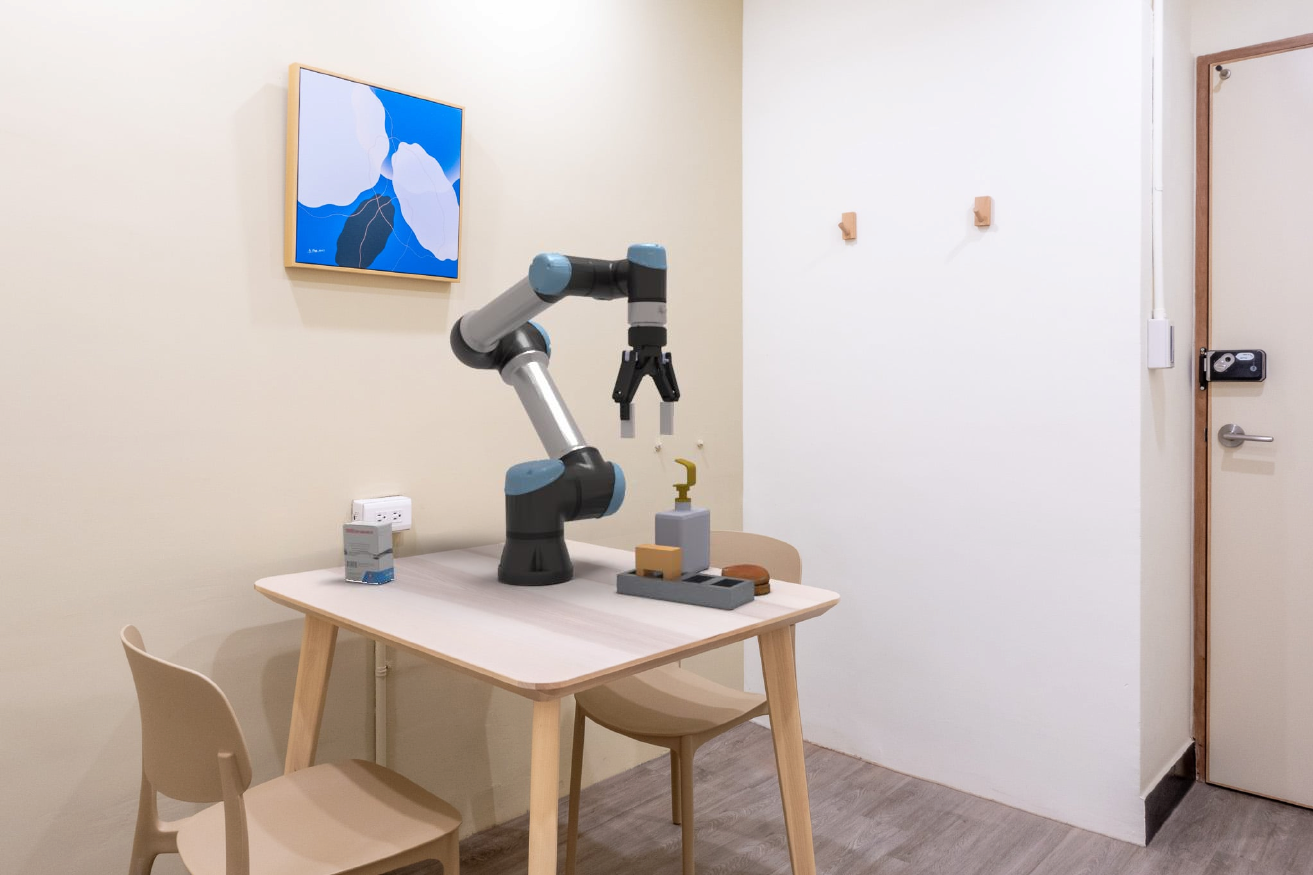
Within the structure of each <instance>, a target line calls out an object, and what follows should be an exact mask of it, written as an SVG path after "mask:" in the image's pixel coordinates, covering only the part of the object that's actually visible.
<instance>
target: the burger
mask: <svg viewBox="0 0 1313 875" xmlns="http://www.w3.org/2000/svg"><path fill="white" fill-rule="evenodd" d="M720 576H726V577H734V578H741V579H749V580H754V596H755V595H758V596H759V595H765V594H768V593H770V592H771V584H770V580H771V577H770V576H771V575H770V573H769V571H768V570H767V569H766V568H765V567H763V566H760V565H756V564H750V563H749V564H747V563H746V564H745V563H744V564H737V565H735V564H734V565H732V566H727V567H723V568H722V569H721V574H720Z"/></svg>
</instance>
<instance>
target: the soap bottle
mask: <svg viewBox="0 0 1313 875" xmlns="http://www.w3.org/2000/svg"><path fill="white" fill-rule="evenodd" d="M674 462H676V463H678V464H680V465H682V466H684V467H685V468H686V480H687V481H686V483H676V484H672V487H675V488H676V492H678V497H675V498H674V509H670V510H666V511H660V512H658V513H655V515H654V545H661V546H670V547H679V548H682V569H681V571H687V572H695V573H699V572H701V571H704V570H706V569H709V568H710V567H711V511H710V509H709V508H705V507H692V498H691V497H688V492H689V491H690V489H691V488H690V487H694V486H695V485H696V483H697V466H696V465H695V463H694V462H691V461H689V460H686V459H684V458H676V459H674Z"/></svg>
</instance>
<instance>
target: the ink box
mask: <svg viewBox="0 0 1313 875" xmlns="http://www.w3.org/2000/svg"><path fill="white" fill-rule="evenodd" d="M342 533H343V551H344V552H343V554H344V573H345V575H344V576H345V580H346V579H348V580H353V581H362V582H367V583H378V584H380V583H383V584H386V583H387V582H386V581H389V582H391V581H392V580H391V579H394V580H395V572H394V571H395V570H394V551H393V549H394V546H393V525H392V522H386V521H385V522H384V521H365V520H356V521H352V522H346V523H344V524H343V525H342ZM390 580H391V581H390ZM385 582H386V583H385ZM380 585H381V584H380Z"/></svg>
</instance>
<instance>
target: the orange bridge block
mask: <svg viewBox="0 0 1313 875" xmlns="http://www.w3.org/2000/svg"><path fill="white" fill-rule="evenodd" d="M634 553H635V557H634V559H635V562H634V563H635V564H634V565H635V568H636V575H641V576H644V575H647V574H651V573H654V570H655V571H663V579H674V578H677V577H680V576H681V569H682V548H679V547H670V546H661V545H655V544H653V543H652V544H650V543H644V544H641V545H636V546H635V548H634ZM635 568H634V569H635Z"/></svg>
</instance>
